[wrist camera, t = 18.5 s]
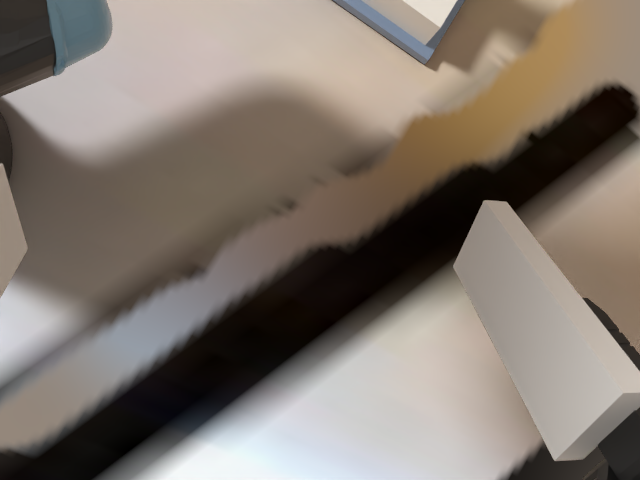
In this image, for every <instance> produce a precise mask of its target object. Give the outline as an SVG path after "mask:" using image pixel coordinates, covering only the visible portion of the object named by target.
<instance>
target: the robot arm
mask: <svg viewBox="0 0 640 480" xmlns="http://www.w3.org/2000/svg"><path fill="white" fill-rule="evenodd" d="M111 33H112V18H111V13H110V10H109V7H108V4H107V1H106V0H0V97H1V96H3V95H6V94H8V93H11V92H13V91H16V90H18V89H21V88H23V87H26V86H28V85H31V84H33V83H36V82H38V81H41V80H43V79H46V78H48V77H51V76H56V75H59V74H61V73H62V72H63V71H64V69H65V68H66V67H68V66H70V65H72V64H74V63H76V62H78V61H80V60H82V59H84V58H86V57H88V56H90V55H92V54H94V53H95V52H97V51H99V50H101V49H102V48H103V47H104V46H105V45H106V43H107V42H108V40H109V39H110V36H111ZM11 166H12V146H11V140H10V135H9V132H8V129H7V126H6V123H5V121H4V119H3V117H2V115H1V113H0V298H1V296H2V294H3V292H4V291H5V289H6V287H7V285H8V284H9V282H10V280H11V278H12V277H13V275H14V273H15V271H16V270H17V268H18V266H19V264H20V262H21V261H22V259H23V257H24V255H25V254H26V252H27V250H28V247H27V244H26V240H25V237H24V233H23V230H22V227H21V223H20V220H19V216H18V213H17V210H16V206H15V203H14V199H13V196H12V193H11V189H10V186H9V183H8V180H9V176H10V172H11ZM453 268H454V270H455V272H456V274H457V276H458V277H459V279H460V281H461V283H462V285H463V287H464V289H465V291H466V293H467V295H468V297H469V299H470V300H471V302H472V304H473V306H474V308H475V310H476V312H477V314H478V316H479V318H480V320H481V321H482V323H483V325H484V327H485V329H486V331H487V333H488V335H489V337H490V339H491V341H492V342H493V344H494V346H495V348H496V350H497V352H498V354H499V356H500V358H501V360H502V362H503V364H504V365H505V367H506V369H507V371H508V373H509V375H510V377H511V379H512V381H513V383H514V385H515V386H516V388H517V390H518V392H519V394H520V396H521V398H522V400H523V402H524V404H525V406H526V408H527V409H528V411H529V413H530V415H531V417H532V419H533V421H534V423H535V425H536V427H537V429H538V430H539V432H540V434H541V436H542V438H543V440H544V442H545V444H546V446H547V448H548V450H549V452H550V453H551V455H552V457H553V459H554V461H564V460H580V459H581V460H582V459H584V458H585V457H586V456H587V455H588V454H589V453H590V452H592V451H593V450H594V448H596V447H597V446H598V447H599V449H600V450H601V452H602V454H603V455H604V457H605V459H603V460H602V461H601V462H600V463H599V464H598V465H597V466H596V467H594V468H593V469H592V470H591V471H590V472H589V473H587V474H586V475H585V476H584V477H583V479H582V480H594V479H595V478H597V480H640V355H639V353H638V352H637V351H636V350H635V348H634V347H633V346H630V342H629V341H628V340H627V339H626V337H625V336H624V335H623V334H622V333H619V329H618V327H617V326H616V325H615V324H614V323H613V321H612V320H611V319H610V318H609V316H608V315H607V314H606V313H605V312H604V311H603V310H601V309H600V308H599V307H598V306H596V305H595V304H594V303H593V302H591V301H590V300H589V299H588V298H582V297H581V296H580V295H579V294H578V292H577V291H576V290H575V288H574V287H573V286H572V285H571V283H570V282H569V281H568V279H567V278H566V277H565V276H564V274H563V273H562V272H561V271H560V269H559V268H558V267H557V265H556V264H555V263H554V262H553V260H552V259H551V258H550V257H549V255H548V254H547V253H546V251H545V250H544V249H543V248H542V246H541V245H540V244H539V243H538V241H537V240H536V239H535V237H534V236H533V235H532V234H531V232H530V231H529V230H528V229H527V227H526V226H525V225H524V223H523V222H522V221H521V220H520V218H519V217H518V216H517V215H516V213H515V212H514V211H513V209H512V208H511V207H510V206H509V204H508V203H507V202H503V201H490V200H484V201H483V203H482V206H481V208H480V210H479V212H478V214H477V216H476V218H475V221H474V223H473V225H472V227H471V229H470V231H469V233H468V236H467V238H466V240H465V242H464V244H463V246H462V248H461V250H460V253H459V255H458V257H457V259H456V261H455V263H454V265H453Z"/></svg>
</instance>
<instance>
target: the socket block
mask: <svg viewBox="0 0 640 480" xmlns="http://www.w3.org/2000/svg"><path fill="white" fill-rule="evenodd" d="M333 1H335V2H336V3H337V4H339V5H340V6H342V7H343V8H345V9H346V10H347V11H349V12H350V13H352V14H353V15H355V16H356V17H357V18H359V19H360V20H362V21H363V22H364V23H366V24H367V25H369V26H370V27H372V28H373V29H374V30H376V31H377V32H379V33H380V34H382V35H383V36H384V37H386V38H387V39H389V40H390V41H392V42H393V43H394V44H396V45H397V46H399V47H400V48H402V49H403V50H404V51H406V52H407V53H409V54H410V55H412V56H413V57H414V58H416V59H417V60H419V61H420V62H421V63H423V64H425V63H426V62H427V61H428V60H429V59H430V57H431V55H432V54H433V52H434V50H435V49H436V47H437V46H438V44H439V42H440V41H441V39H442V37H443V36H444V34H445V32H446V31H447V29H448V27H449V26H450V24H451V23H452V21H453V19H454V18H455V16H456V14H457V13H458V11H459V9H460V8H461V6H462V4H463V3H464V1H465V0H333Z"/></svg>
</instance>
